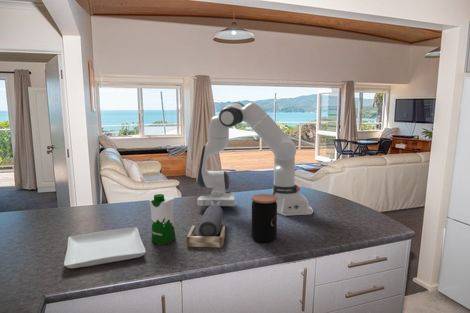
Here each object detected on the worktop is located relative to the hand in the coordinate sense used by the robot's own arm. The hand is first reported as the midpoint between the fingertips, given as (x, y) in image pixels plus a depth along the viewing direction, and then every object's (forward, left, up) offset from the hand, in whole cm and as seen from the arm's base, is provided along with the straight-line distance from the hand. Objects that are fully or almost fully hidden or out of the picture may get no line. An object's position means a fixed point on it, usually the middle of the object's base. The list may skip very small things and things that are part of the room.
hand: (214, 205), depth 167 cm
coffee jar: (-24, +29, -5) cm, 38 cm away
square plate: (+38, +44, -6) cm, 58 cm away
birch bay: (0, +32, -5) cm, 32 cm away
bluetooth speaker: (-1, +23, -5) cm, 24 cm away
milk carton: (+18, +33, -5) cm, 38 cm away
